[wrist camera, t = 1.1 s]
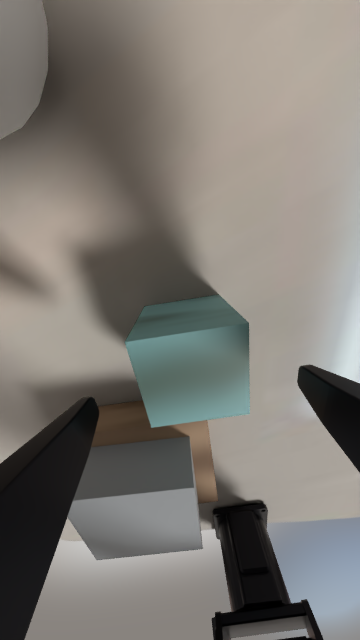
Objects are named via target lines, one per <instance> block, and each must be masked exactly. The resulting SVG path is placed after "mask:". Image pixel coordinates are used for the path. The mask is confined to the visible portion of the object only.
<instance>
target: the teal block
mask: <svg viewBox="0 0 360 640" xmlns="http://www.w3.org/2000/svg"><path fill="white" fill-rule="evenodd" d="M125 345H126V348H127V351H128V354H129V357H130V361H131V364H132V367H133V370H134V373H135V376H136V380H137V383H138V386H139V389H140V392H141V396H142V399H143V402H144V405H145V408H146V412H147V415H148V418H149V421H150V424H151V428H153V427H160V426H167V425H175V424H182V423H189V422H196V421H203V420H210V419H217V418H224V417H231V416H239V415H246V414H250V393H249V323H248V322H247V321H246V320H245V319H244V318H243V317H242V316H241V315H240V314H239V313H238V312H237V311H236V310H235V309H234V308H233V307H231V306H230V305H229V304H228V303H227V302H226V301H225V300H224V299H223V298H222V297H221V296H220V295H219V294H218V295H212V296H206V297H200V298H194V299H187V300H181V301H175V302H169V303H162V304H156V305H150V306H144V308H143V310H142V312H141V314H140V315H139V317H138V319H137V321H136V323H135V325H134V326H133V328H132V330H131V332H130V334H129V335H128V337H127V339H126V341H125Z"/></svg>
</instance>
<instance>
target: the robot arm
mask: <svg viewBox="0 0 360 640" xmlns="http://www.w3.org/2000/svg"><path fill="white" fill-rule="evenodd" d="M297 382H298V386H299V388H300V389H301V391H302V393H303V394H304V396H305V397H306V399H307V400H308V402H309V404H310V405H311V407H312V408H313V410H314V411H315V413H316V415H317V416H318V418H319V419H320V421H321V422H322V424H323V425H324V426H325V428H326V429H327V430H328V432H329V433H330V434H331V436H332V437H333V438H334V439H335V441H336V442H337V443H338V445H339V446H340V447H341V449H342V450H343V451H344V453H345V454H346V455H347V456H348V458H349V459H350V460H351V462H352V463H353V464H354V466H355V467H356V468H357V470H358V471H359V472H360V383H357V382H354V381H352V380H349V379H347V378H344V377H341V376H339V375H336V374H334V373H331V372H328V371H326V370H323V369H321V368H318V367H315V366H313V365H304V366H300V367H299V371H298V380H297ZM98 418H99V408H98V406H97V404H96V402H95V399H94V398H93V397H84V398H82V399H80V400H79V401H78V402H77V403H75V404H74V405H73V406H72V407H70V408H69V409H68V410H67V411H65V412H64V413H63V414H62V415H60V416H59V417H58V418H57V419H55V420H54V421H53V422H52V423H50V424H49V425H48V426H47V427H45V428H44V429H43V430H42V431H40V432H39V433H38V434H37V435H35V436H34V437H33V438H32V439H31V440H29V441H28V442H27V443H26V444H24V445H23V446H22V447H21V448H19V449H18V450H17V451H16V452H14V453H13V454H12V455H11V456H9V457H8V458H7V459H6V460H4V461H3V462H2V463H1V464H0V640H24V639H25V636H26V633H27V631H28V628H29V625H30V622H31V619H32V616H33V613H34V611H35V608H36V605H37V602H38V599H39V596H40V593H41V591H42V588H43V585H44V582H45V579H46V576H47V573H48V570H49V568H50V565H51V562H52V559H53V556H54V553H55V551H56V548H57V545H58V542H59V539H60V536H61V534H62V531H63V528H64V525H65V522H66V519H67V517H68V514H69V511H70V508H71V505H72V502H73V499H74V497H75V494H76V491H77V488H78V485H79V482H80V479H81V477H82V474H83V471H84V468H85V465H86V462H87V459H88V456H89V453H90V450H91V446H92V442H93V438H94V434H95V430H96V426H97V422H98ZM267 513H268V510H267V507H266V505H265V504H258V505H250V506H242V507H234V508H226V509H217V510H214V511H213V519H214V525H215V531H216V537H217V539H220V542H221V549H222V555H223V561H224V567H225V574H226V580H227V586H228V592H229V599H230V605H231V611H232V612H228V613H221V612H215V617H214V618H212V627H213V637H214V640H231V638H236V637H244V636H252V635H259V634H267V633H274V632H281V631H290V630H298V629H304V628H306V629H307V632H308V635H309V638H306V636H303V637H294V638H286V639H279V640H323V637H322V635H321V632H320V630H319V628H318V625H317V623H316V620H315V618H314V615H313V613H312V610H311V608H310V605H309V603H308V601H307V599H306V600H301V602H299V603H293V604H291V602H290V598H289V595H288V592H287V589H286V586H285V584H284V581H283V577H282V574H281V571H280V568H279V565H278V563H277V559H276V557H275V554H274V551H273V547H272V544H271V541H270V538H269V535H268V532H267Z"/></svg>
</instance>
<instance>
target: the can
mask: <svg viewBox="0 0 360 640" xmlns="http://www.w3.org/2000/svg"><path fill="white" fill-rule="evenodd" d="M47 73H48V25H47V20H46V15H45V11H44V6H43V2H42V0H0V139H2V138H4V137H6V136H8V135H9V134H11V133H13V132H15V131H17V130H19V129H20V128H22V127H23V126H24V125H25V123H26V122H27V120H28V119H29V118H30V116H31V115H32V113H33V112H34V111H35V109H36V108H37V106H38V105H39V103H40V99H41V95H42V91H43V88H44V84H45V80H46V76H47Z"/></svg>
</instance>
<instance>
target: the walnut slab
mask: <svg viewBox="0 0 360 640" xmlns="http://www.w3.org/2000/svg"><path fill="white" fill-rule="evenodd" d="M98 408H99V418H98V422H97V426H96V430H95V434H94V438H93V442H92V446H91V447H98V446H107V445H116V444H125V443H134V442H143V441H152V440H161V439H170V438H179V437H188V436H190V444H191V451H192V459H193V466H194V474H195V481H196V489H197V496H198V503H206V502H215V501H218V497H217V489H216V482H215V474H214V467H213V459H212V452H211V445H210V437H209V430H208V422H207V420H203V421H196V422H189V423H182V424H175V425H167V426H160V427H153V428H151V424H150V421H149V418H148V415H147V412H146V408H145V405H144V402H143V400H140V401H133V402H126V403H119V404H112V405H105V406H98Z"/></svg>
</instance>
